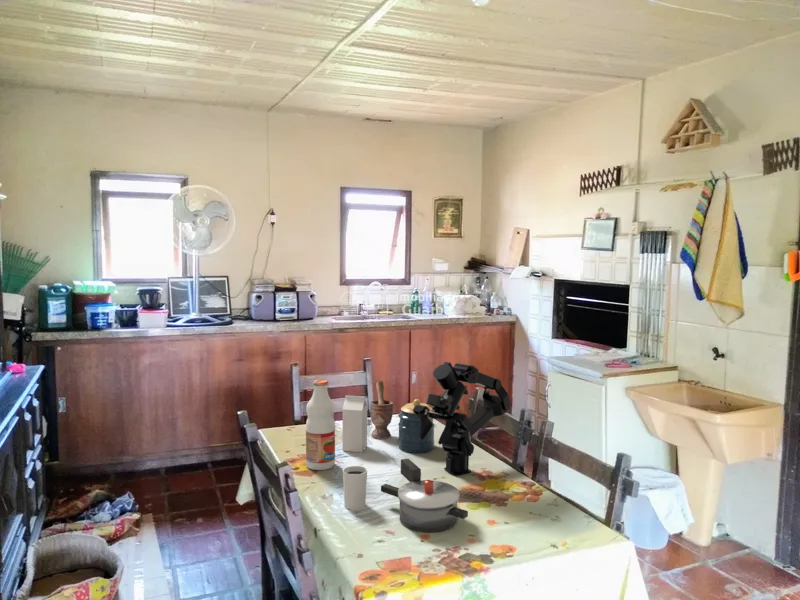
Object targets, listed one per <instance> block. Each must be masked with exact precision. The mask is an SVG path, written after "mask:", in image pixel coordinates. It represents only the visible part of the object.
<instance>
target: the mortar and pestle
mask: <svg viewBox="0 0 800 600" xmlns="http://www.w3.org/2000/svg"><path fill="white" fill-rule="evenodd" d="M375 385H376V392H377V398H378V399H377V400H371V401H370V402H369V404H370V406H369V407H370V412H369V413H370V419H371V422H372V424H373V426H374V427H375V428H374V429H373V430H372V431H371V434H370V435H371V437H372V438H374V439H378V440H383V439H388V438H391V436H392V435H391V432H390V430H389V429H388V426H389V425H390V424H391V423H392V418H393V414H394V413H393V409H394V407H393V406H394V403H393V401H390V400H385V398H384V381H381V380H379V381H376V384H375Z"/></svg>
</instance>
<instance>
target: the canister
mask: <svg viewBox="0 0 800 600" xmlns="http://www.w3.org/2000/svg"><path fill="white" fill-rule="evenodd" d="M418 404H419V405H423V406H427V407H428V409H429V410H430V411H432V412H433V409H432V408H431V407H432V406H429V404H426V403H425V402H421V400H420V399H418V398H416V399H414V400H413V401H412V402H410V403H409V402H408V403H405V405H403V406H401V408H400V410H401V412H400V413H399V414H398V418H399V422H398V440H397V443H398V448H399V449H400V450H401V451H403V452H406V453H413V454H422V453H429V452H431V451H432V450H433V449H434V447H435V426H436V425H435V423H434V418H432V419H431V422H432V424H433V426H432V427H431V429H430V430H429V432H428V433H427V435H426V436H425V437H424V439H423V440H421V439H420V433H421V420H419V419H418V417H417V416H416V415H415V413H414V412H413V409H414V407H415V405H418Z"/></svg>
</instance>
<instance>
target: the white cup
mask: <svg viewBox="0 0 800 600" xmlns="http://www.w3.org/2000/svg"><path fill="white" fill-rule="evenodd" d="M367 479H368V469H367V468H366V467H365V466H361V465H350V466H346V467H344V468H343V469H342V481H343V483H342V484H343V502H344V508H346V509H347V510H351V511H353V510H354V511H358V510H362V509H364V508H365V507H366V500H367V496H366V495H367V484H368V483H367Z"/></svg>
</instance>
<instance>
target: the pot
mask: <svg viewBox="0 0 800 600" xmlns="http://www.w3.org/2000/svg"><path fill="white" fill-rule="evenodd" d="M399 488H400V487H397V486H393V485H390V484H387V483H384V484H382V485H380V492H381V493H384V494H387V495H390V496H393V497H396V498H398V490H399ZM468 515H469V511H468V510H465V509H462V508H460V507H458V502H457V503H456V504H455V505H453V506H450V507H447V508H443V509H435V510H426V509H418V508H413V507H410V506H407V505H405V504H403V503H402V502H401V501H400V500H399V522H400V524H401V525H402V526H404V527H405V528H406V529H409V530H412V531H413V532H418V533H424V534H425V533H427V534H435V533H442V532H446V531H449V530H451V529H452V528H454V527H455V526H456V525H457V522H458V519H462V520H464V519H466V518H468Z"/></svg>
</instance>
